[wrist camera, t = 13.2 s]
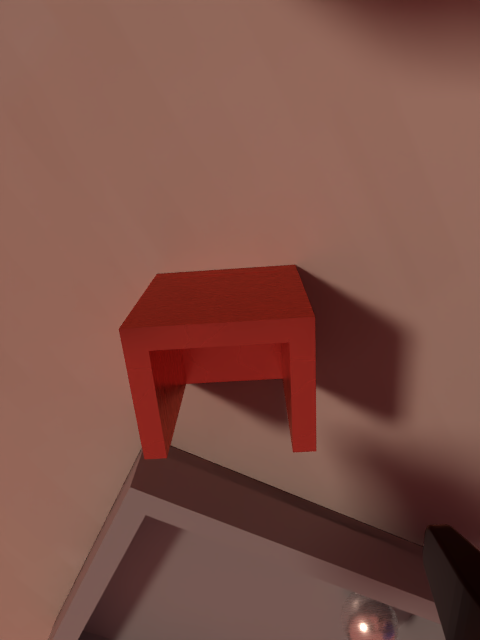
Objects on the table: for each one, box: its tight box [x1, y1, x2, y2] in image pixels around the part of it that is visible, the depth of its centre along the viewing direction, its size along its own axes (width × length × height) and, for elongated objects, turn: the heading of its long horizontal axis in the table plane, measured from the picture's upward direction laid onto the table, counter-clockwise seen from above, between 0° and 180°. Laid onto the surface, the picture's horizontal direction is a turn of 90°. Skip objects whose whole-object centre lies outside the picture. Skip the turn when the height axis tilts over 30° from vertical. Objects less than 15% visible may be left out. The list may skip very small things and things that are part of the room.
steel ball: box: [341, 592, 398, 640], centre depth 24 cm, size 3×3×3 cm
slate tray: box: [48, 446, 446, 640], centre depth 25 cm, size 20×16×4 cm
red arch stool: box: [119, 265, 316, 459], centre depth 17 cm, size 6×5×6 cm
